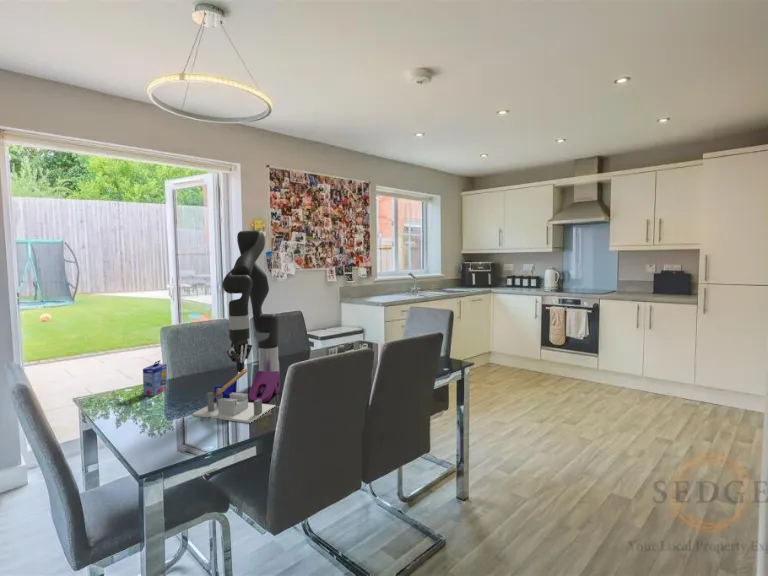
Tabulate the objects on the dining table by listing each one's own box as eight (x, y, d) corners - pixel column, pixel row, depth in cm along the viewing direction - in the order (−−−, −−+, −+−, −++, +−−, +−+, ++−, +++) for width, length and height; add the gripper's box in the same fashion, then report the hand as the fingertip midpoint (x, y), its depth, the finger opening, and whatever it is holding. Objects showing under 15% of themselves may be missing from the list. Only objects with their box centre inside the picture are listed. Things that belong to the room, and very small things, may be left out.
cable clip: (227, 393, 188) (227, 380, 188) (236, 394, 187) (236, 380, 188) (210, 400, 177) (211, 386, 177) (220, 401, 176) (220, 386, 176)
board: (221, 401, 179) (220, 382, 178) (275, 407, 171) (275, 387, 171) (192, 415, 163) (191, 395, 162) (250, 423, 155) (250, 401, 155)
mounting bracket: (271, 415, 179) (281, 385, 195) (268, 400, 175) (278, 371, 190) (249, 414, 179) (260, 385, 195) (245, 400, 175) (257, 371, 191)
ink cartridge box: (154, 396, 185) (153, 363, 184) (142, 396, 186) (141, 363, 185) (168, 389, 195) (166, 358, 194) (156, 389, 196) (155, 358, 195)
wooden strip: (211, 399, 166) (210, 396, 166) (217, 396, 169) (215, 393, 170) (243, 373, 161) (241, 370, 161) (248, 371, 164) (246, 368, 164)
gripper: (241, 324, 169) (242, 366, 171) (219, 329, 157) (221, 375, 158) (257, 324, 167) (258, 368, 168) (236, 330, 155) (238, 376, 156)
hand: (240, 371), depth 163 cm, fingers closed
